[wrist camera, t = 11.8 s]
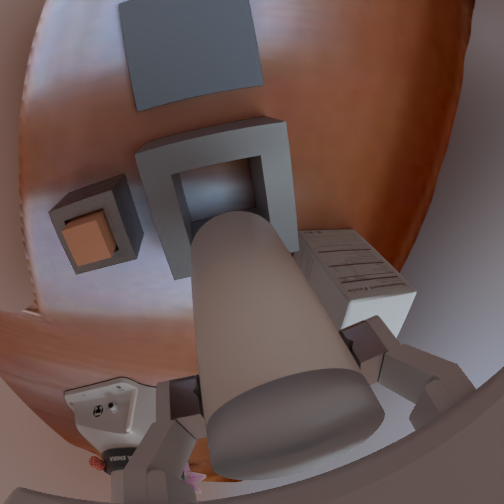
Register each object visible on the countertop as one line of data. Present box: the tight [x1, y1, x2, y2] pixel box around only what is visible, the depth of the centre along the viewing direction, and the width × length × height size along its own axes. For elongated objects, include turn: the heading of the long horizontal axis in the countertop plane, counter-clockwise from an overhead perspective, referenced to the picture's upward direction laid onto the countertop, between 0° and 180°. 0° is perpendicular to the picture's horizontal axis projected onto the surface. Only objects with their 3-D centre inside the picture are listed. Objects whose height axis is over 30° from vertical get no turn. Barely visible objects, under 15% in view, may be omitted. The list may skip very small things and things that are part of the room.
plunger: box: [62, 208, 117, 266], centre depth 23 cm, size 3×3×6 cm
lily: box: [183, 462, 206, 493], centre depth 58 cm, size 12×12×10 cm
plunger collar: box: [48, 174, 144, 275], centre depth 24 cm, size 6×6×5 cm
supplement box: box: [293, 229, 417, 338], centre depth 28 cm, size 7×7×13 cm
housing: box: [134, 116, 299, 280], centre depth 24 cm, size 11×11×6 cm
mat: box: [119, 0, 264, 112], centre depth 19 cm, size 11×11×1 cm
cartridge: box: [190, 211, 385, 480], centre depth 11 cm, size 5×5×11 cm
